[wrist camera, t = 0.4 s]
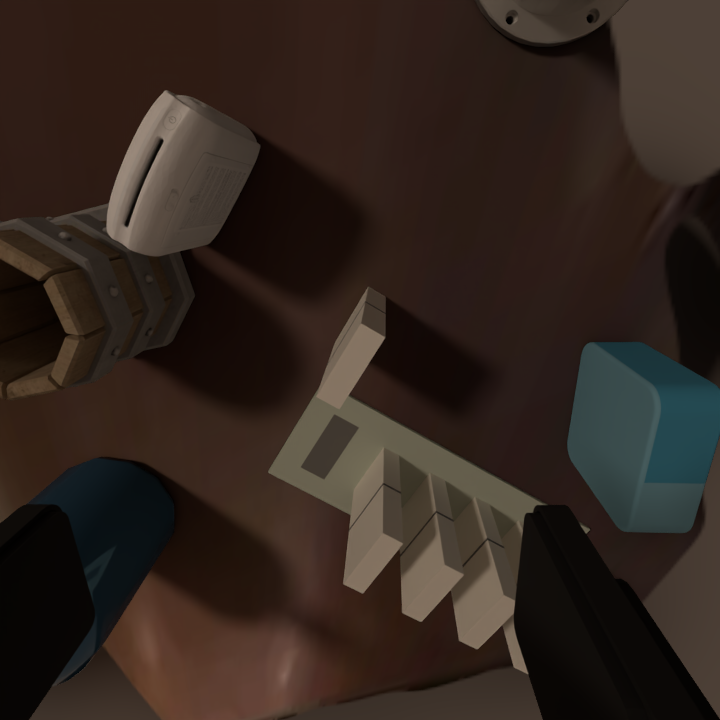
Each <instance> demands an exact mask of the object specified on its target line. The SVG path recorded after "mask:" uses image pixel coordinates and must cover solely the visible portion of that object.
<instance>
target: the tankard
mask: <svg viewBox="0 0 720 720" xmlns="http://www.w3.org/2000/svg"><path fill="white" fill-rule="evenodd" d="M108 207H109V204H105V205H101V206H98V207H94V208H90V209H86V210H82V211H78V212H75V213H71V214H67V215H63V216H59V217H55V218H52V217H47V218H46V219H45V218H43V217H32V218H18V219H14V220H10V221H6V222H2V221H0V397H1V398H3V399H5V400H6V399H7V398H8V399H9V400H16V399H21V398H26V397H31V396H36V395H41V394H46V393H51V392H55V391H60V390H63V389H65V388H68V387H72V386H73V387H77V386H79V385H82V384H87V383H92V382H95V381H97V380H98V379H100V378H101V377H103V376H104V375H106V374H108V373H109V372H111V371H112V368H113V366H114V364H115V363H116V362H117V361H121V360H125V359H130V358H133V357H134V356H136V355H137V354H139V353H140V352H142V351H144V350H149V349H154V348H159V347H163V346H167V345H168V344H170V343H171V342H173V340H174V338H175V336H176V334H177V332H178V330H179V328H180V325H181V323H182V321H183V319H184V317H185V315H186V313H187V311H188V309H189V307H190V305H191V303H192V301H193V299H194V297H195V293H194V290H193V287H192V285H191V282H190V279H189V276H188V273H187V271H186V268H185V265H184V262H183V259H182V257H181V254H180V251H179V252H175V253H171V254H167V255H163V256H148V255H144V254H140V253H137V252H134V251H132V250H129V249H128V248H127V247H126V246H124V245H123V244H122V243H120V242H118V241H116V240H114V239H112V238H111V237H110V236H109V234H108V233H107V212H108Z"/></svg>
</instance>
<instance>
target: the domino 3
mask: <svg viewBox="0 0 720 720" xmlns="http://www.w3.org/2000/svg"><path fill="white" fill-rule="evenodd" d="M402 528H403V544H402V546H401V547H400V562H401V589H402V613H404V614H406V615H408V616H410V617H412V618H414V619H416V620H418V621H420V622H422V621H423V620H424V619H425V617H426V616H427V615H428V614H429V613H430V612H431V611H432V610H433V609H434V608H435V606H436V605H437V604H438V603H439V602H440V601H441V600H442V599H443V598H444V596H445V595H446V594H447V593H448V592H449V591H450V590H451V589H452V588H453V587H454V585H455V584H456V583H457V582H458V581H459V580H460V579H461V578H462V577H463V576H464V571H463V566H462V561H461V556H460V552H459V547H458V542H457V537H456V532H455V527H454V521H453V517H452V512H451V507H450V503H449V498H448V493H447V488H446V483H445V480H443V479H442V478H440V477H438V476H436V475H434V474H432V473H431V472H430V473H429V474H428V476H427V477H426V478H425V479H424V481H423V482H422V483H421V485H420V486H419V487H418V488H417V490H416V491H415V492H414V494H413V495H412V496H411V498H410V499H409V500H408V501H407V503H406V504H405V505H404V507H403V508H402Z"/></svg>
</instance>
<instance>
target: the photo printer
mask: <svg viewBox="0 0 720 720" xmlns="http://www.w3.org/2000/svg"><path fill="white" fill-rule="evenodd" d="M259 150H260V144H258V143H257V141H256V138H255V136H254V135H253V133H252V132H251V131H250V130H249V129H248V128H247V127H246V126H245V125H243V124H241V123H239V122H238V121H236V120H234V119H232V118H230V117H229V116H227V115H225V114H223V113H221V112H219V111H217V110H216V109H214V108H212V107H210V106H208V105H206V104H205V103H203V102H201V101H199V100H197V99H195V98H192V97H189V96H181V95H179V96H178V95H176V94H174V93H172V92H170V91H167V90H166V91H164V93H163V94H162V95H161V96H160V97H159V98H158V99H157V100H156V101H155V103H154V104H153V105H152V107H151V108H150V110H149V111H148V113H147V114H146V116H145V117H144V119H143V121H142V123H141V125H140V126H139V128H138V130H137V132H136V134H135V136H134V138H133V140H132V142H131V144H130V146H129V149H128V151H127V153H126V156H125V158H124V160H123V163H122V165H121V168H120V170H119V173H118V176H117V179H116V182H115V185H114V188H113V191H112V194H111V198H110V202H109V207H108V212H107V233H108V234H109V236H110V237H111V238H112V239H114V240H116V241H118V242H120V243H122V244H123V245H124V246H126V247H127V248H128V249H129V250H132V251H134V252H137V253H140V254H144V255H148V256H163V255H167V254H171V253H175V252H179V251H183V250H187V249H191V248H195V247H200V246H204V245H208V244H209V243H211V242H212V240H213V239H214V238H215V237H216V235H217V234H218V233H219V231H220V229H221V228H222V226H223V224H224V223H225V221H226V219H227V217H228V215H229V213H230V212H231V210H232V208H233V206H234V204H235V202H236V200H237V198H238V196H239V194H240V192H241V191H242V189H243V187H244V185H245V183H246V181H247V179H248V177H249V175H250V173H251V171H252V168H253V166H254V164H255V162H256V159H257V157H258V154H259Z"/></svg>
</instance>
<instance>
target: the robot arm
mask: <svg viewBox="0 0 720 720" xmlns="http://www.w3.org/2000/svg"><path fill="white" fill-rule="evenodd" d="M475 1H476V3H477V5H478V7H479V9H480V11H481V13H482V14H483V15H484V16H485V18H486V19H487V20H488V21H489V23H490V24H491V25H492V26H493V27H494V28H496V29H497V30H498V31H499V32H501V33H502V34H503V35H504V36H506V37H508V38H510V39H512V40H514V41H516V42H518V43H521V44H526V45H530V46H535V47H553V46H558V45H562V44H567V43H571V42H573V41H575V40H577V39H580V38H582V37H584V36H586V35H588V34H590V33H591V32H592V31H594V30H595V29H597V28H598V27H600V26H601V25H603V24H604V23H605V22H606V21H608V20H609V19H610V18H611V17H612V16H613V15H615V14H616V13H617V12H618V11H619V10H620V9H621V8H622V6H623V5H624V4H625V3H626V2H627V1H628V0H475ZM586 17H590V19H591V22H590V23H588V21H587V18H586ZM507 18H510V19H511V20H512V24H511V25H509V24H507V22H506V19H507ZM94 619H95V608H94V604H93V601H92V597H91V594H90V590H89V587H88V583H87V580H86V576H85V573H84V569H83V566H82V562H81V559H80V555H79V552H78V548H77V545H76V541H75V538H74V534H73V531H72V527H71V524H70V520H69V517H68V515H67V514H66V513H65V512H62V510H61V508H60V507H59V506H58V505H54V504H27V505H23V506H22V507H20V508H18V509H17V510H16V511H15V512H14V513H12V514H11V515H10V516H9V517H8V518H6V519H5V520H4V521H3V522H1V523H0V720H29V719H30V717H31V716H32V714H33V713H34V712H35V710H36V709H37V707H38V706H39V704H40V703H41V701H42V700H43V698H44V697H45V695H46V694H47V692H48V691H49V690H50V688H51V687H52V685H53V684H54V682H55V681H56V679H57V678H58V677H59V675H60V674H61V672H62V671H63V669H64V668H65V666H66V665H67V663H68V662H69V660H70V659H71V658H72V656H73V655H74V653H75V652H76V650H77V649H78V647H79V646H80V644H81V643H82V642H83V640H84V639H85V637H86V636H87V634H88V633H89V631H90V630H91V628H92V625H93V623H94ZM514 629H515V634H516V637H517V641H518V644H519V647H520V650H521V653H522V656H523V659H524V662H525V665H526V669H527V672H528V675H529V678H530V681H531V684H532V687H533V690H534V693H535V696H536V700H537V702H538V706H539V709H540V712H541V715H542V718H543V720H720V719H719V717H718V716H717V714H716V713H715V711H714V710H713V708H712V707H711V706H710V704H709V702H708V701H707V699H706V698H705V696H704V695H703V693H702V692H701V690H700V689H699V687H698V686H697V684H696V683H695V681H694V680H693V678H692V677H691V676H690V674H689V673H688V671H687V669H686V668H685V667H684V665H683V663H682V662H681V660H680V659H679V658H678V656H677V655H676V653H675V652H674V650H673V649H672V647H671V646H670V644H669V643H668V641H667V640H666V638H665V637H664V635H663V634H662V632H661V631H660V629H659V628H658V626H657V625H656V623H655V622H654V620H653V619H652V617H651V616H650V614H649V613H648V611H647V610H646V608H645V607H644V605H643V604H642V602H641V601H640V599H639V598H638V596H637V595H636V593H635V592H634V590H633V589H632V588H631V587H630V585H629V584H628V583H627V582H625V581H624V580H622V579H615V578H614V577H613V575H612V574H611V572H610V571H609V569H608V567H607V566H606V564H605V563H604V561H603V560H602V558H601V556H600V555H599V553H598V552H597V550H596V549H595V547H594V546H593V544H592V542H591V541H590V539H589V538H588V536H587V535H586V533H585V531H584V530H583V528H582V527H581V525H580V524H579V522H578V521H577V519H576V517H575V516H574V514H573V513H572V511H571V510H570V508H569V507H568V506H566V505H536V506H535V508H534V510H533V513H526V514H525V517H524V524H523V533H522V542H521V552H520V561H519V570H518V579H517V588H516V597H515V607H514Z"/></svg>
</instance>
